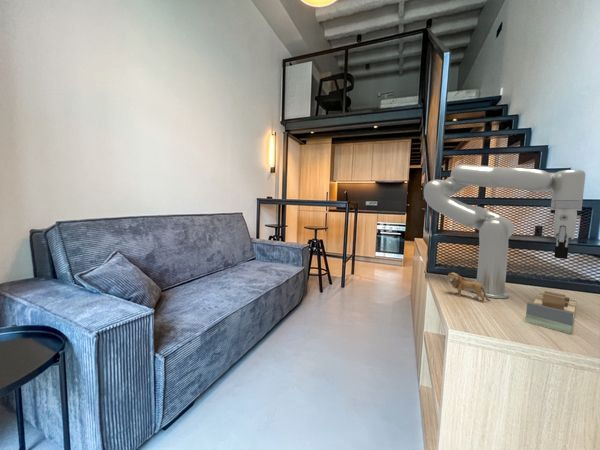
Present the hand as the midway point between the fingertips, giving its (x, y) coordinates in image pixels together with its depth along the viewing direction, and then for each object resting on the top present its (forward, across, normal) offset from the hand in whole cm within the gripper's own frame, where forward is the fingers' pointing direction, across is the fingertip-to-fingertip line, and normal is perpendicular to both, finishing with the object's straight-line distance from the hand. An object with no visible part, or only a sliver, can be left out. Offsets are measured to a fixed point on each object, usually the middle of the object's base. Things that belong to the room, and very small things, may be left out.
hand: (560, 257), depth 91 cm
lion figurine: (+19, -13, +24) cm, 34 cm away
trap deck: (+19, -7, 0) cm, 20 cm away
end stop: (+16, -22, 0) cm, 28 cm away
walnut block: (+16, -8, 0) cm, 18 cm away
